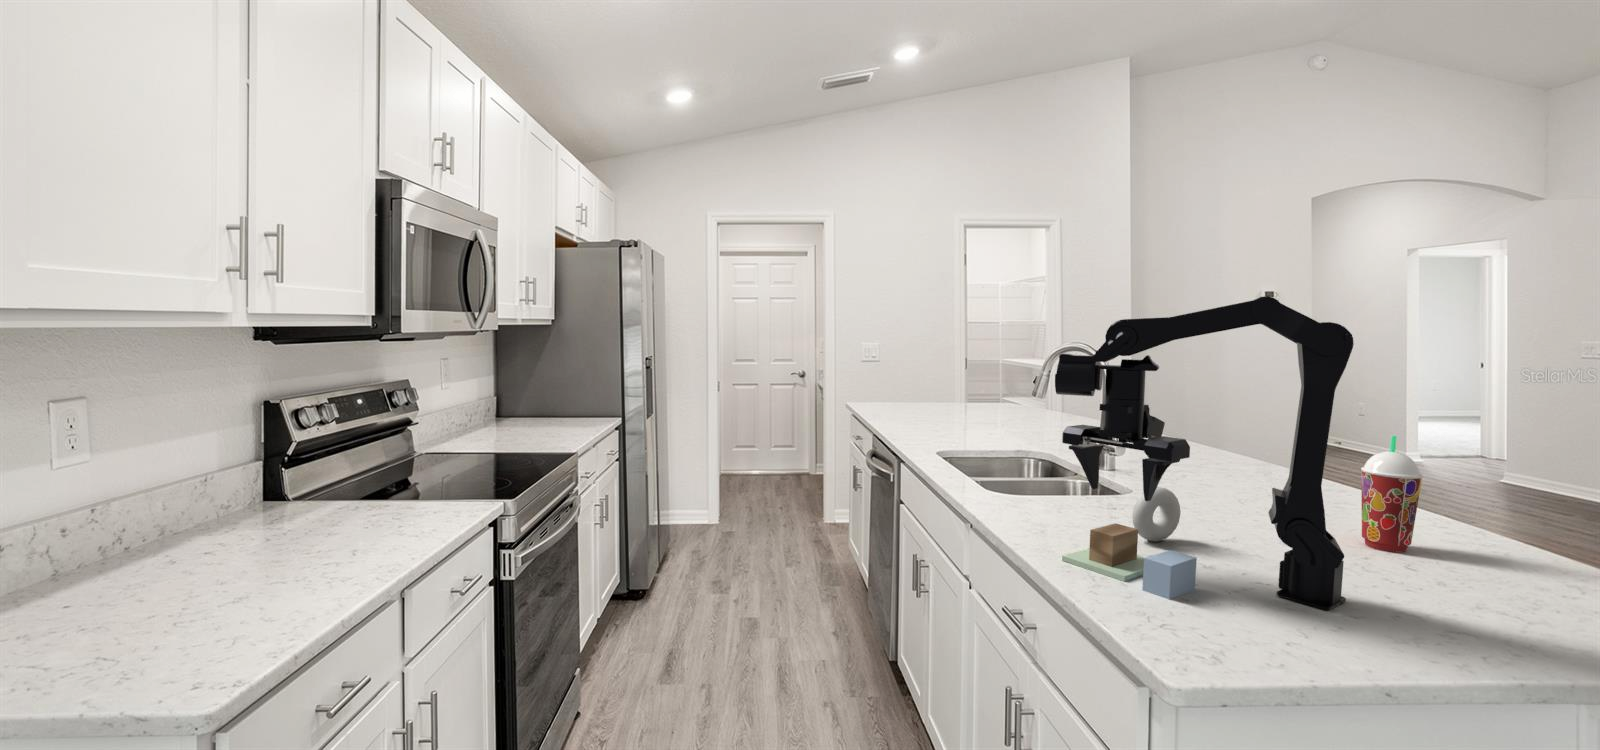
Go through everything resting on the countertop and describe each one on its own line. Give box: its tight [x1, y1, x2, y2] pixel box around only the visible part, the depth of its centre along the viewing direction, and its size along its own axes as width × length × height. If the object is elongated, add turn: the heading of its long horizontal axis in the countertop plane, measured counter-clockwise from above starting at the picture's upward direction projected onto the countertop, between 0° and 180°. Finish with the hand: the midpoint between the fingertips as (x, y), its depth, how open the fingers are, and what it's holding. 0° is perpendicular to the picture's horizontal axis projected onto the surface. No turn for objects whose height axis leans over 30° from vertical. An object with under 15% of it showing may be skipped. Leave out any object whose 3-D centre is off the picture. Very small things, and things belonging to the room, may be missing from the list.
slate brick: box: [1141, 549, 1198, 600], centre depth 104 cm, size 4×7×5 cm, turn 123°
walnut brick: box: [1089, 522, 1139, 567], centre depth 115 cm, size 4×7×5 cm, turn 124°
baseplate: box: [1061, 547, 1146, 582], centre depth 115 cm, size 11×11×1 cm
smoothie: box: [1360, 435, 1424, 553], centre depth 125 cm, size 8×8×20 cm
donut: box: [1131, 486, 1181, 542], centre depth 127 cm, size 10×4×10 cm, turn 111°
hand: (1120, 494), depth 113 cm, fingers open, 9 cm apart
